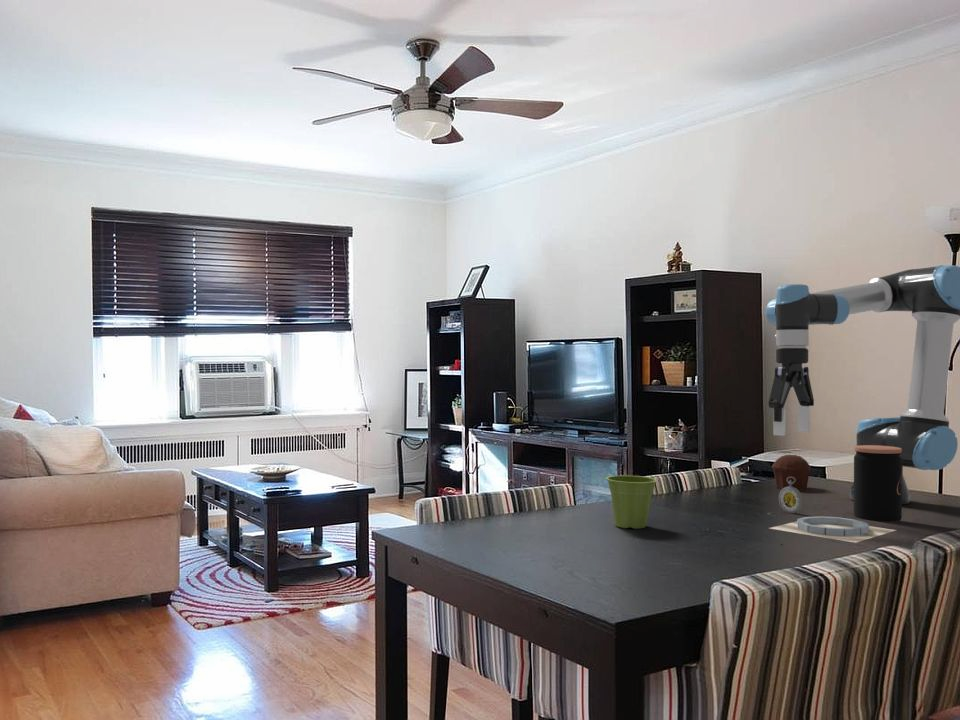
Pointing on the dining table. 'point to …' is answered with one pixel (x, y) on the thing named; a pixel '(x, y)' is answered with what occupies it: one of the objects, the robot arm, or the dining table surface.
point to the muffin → (791, 472)
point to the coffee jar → (878, 483)
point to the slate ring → (858, 529)
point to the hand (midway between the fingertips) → (791, 433)
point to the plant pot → (631, 499)
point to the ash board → (872, 533)
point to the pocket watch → (790, 498)
